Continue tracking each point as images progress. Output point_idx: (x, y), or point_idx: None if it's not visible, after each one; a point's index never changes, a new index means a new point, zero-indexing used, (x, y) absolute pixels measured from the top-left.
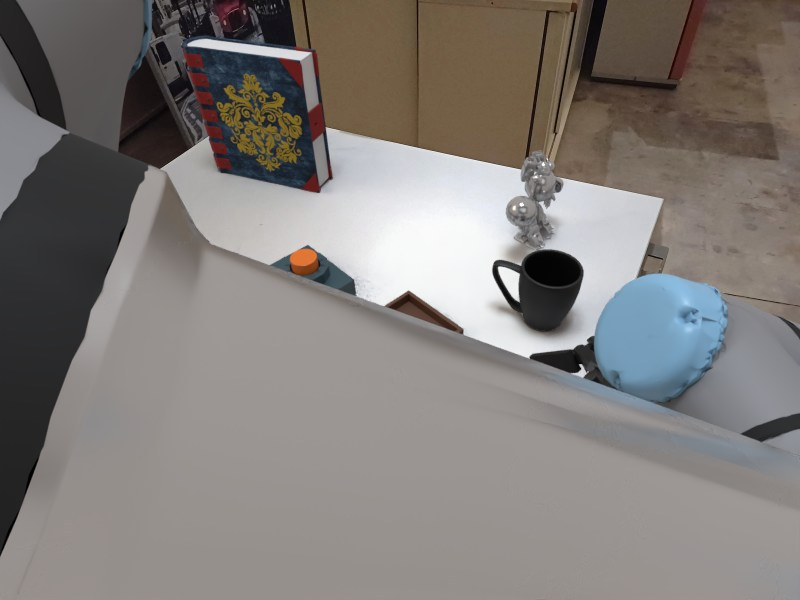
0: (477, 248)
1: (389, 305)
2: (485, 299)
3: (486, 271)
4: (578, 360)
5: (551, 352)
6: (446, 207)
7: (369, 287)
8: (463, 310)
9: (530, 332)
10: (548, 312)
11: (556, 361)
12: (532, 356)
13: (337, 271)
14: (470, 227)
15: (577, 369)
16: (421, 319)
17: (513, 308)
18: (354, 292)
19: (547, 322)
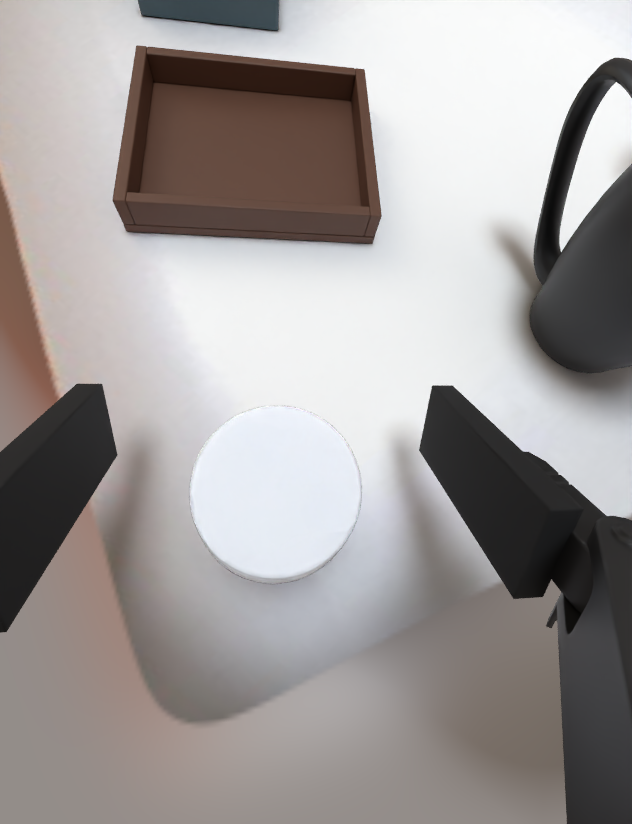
0: None
1: (294, 66)
2: (499, 208)
3: None
4: (566, 570)
5: (498, 437)
6: (605, 15)
7: (315, 36)
8: (434, 195)
9: (520, 337)
10: (613, 317)
11: (482, 481)
12: (439, 393)
13: None
14: None
15: (524, 589)
16: (334, 147)
17: (535, 260)
18: (274, 17)
19: (580, 343)
